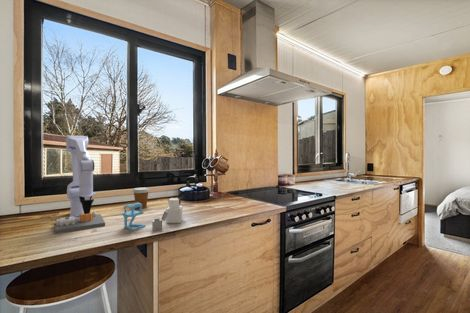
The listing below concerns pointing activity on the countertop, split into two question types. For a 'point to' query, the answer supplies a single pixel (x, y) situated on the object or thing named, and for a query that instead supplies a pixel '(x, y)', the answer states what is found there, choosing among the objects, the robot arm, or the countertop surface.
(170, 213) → the medicine bottle
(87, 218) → the orange gear
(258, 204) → the countertop surface
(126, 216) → the chair
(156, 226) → the lighter
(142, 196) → the disposable coffee cup
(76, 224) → the gear board
